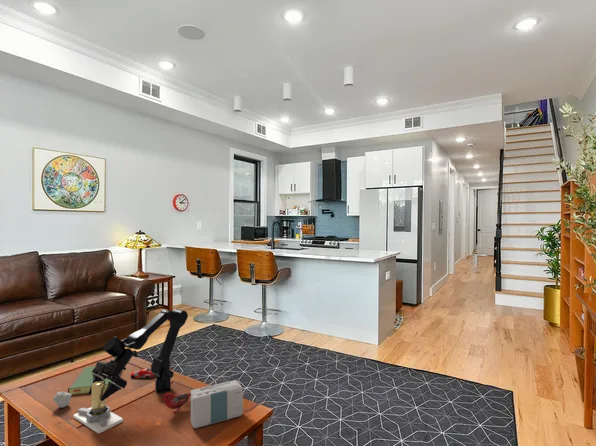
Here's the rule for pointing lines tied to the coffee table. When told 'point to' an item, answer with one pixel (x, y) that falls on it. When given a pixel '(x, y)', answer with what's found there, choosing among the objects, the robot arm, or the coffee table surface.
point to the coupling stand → (97, 419)
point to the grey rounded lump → (62, 399)
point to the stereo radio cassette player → (216, 403)
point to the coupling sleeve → (98, 398)
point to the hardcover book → (84, 382)
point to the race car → (142, 374)
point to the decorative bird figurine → (175, 400)
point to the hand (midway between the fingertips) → (95, 397)
